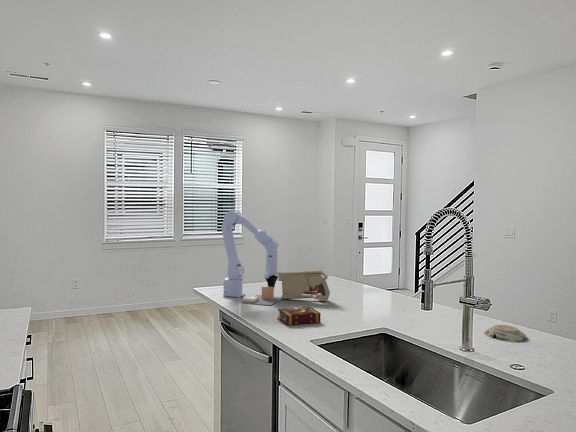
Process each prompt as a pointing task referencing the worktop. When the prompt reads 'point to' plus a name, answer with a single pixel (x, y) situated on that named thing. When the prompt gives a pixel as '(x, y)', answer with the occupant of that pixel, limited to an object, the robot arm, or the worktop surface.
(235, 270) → the robot arm
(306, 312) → the decorative book
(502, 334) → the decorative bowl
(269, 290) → the tile
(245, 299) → the flat tile
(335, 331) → the worktop surface
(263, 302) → the mat
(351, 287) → the worktop surface
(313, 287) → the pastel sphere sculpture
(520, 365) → the worktop surface
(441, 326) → the worktop surface
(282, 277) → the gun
